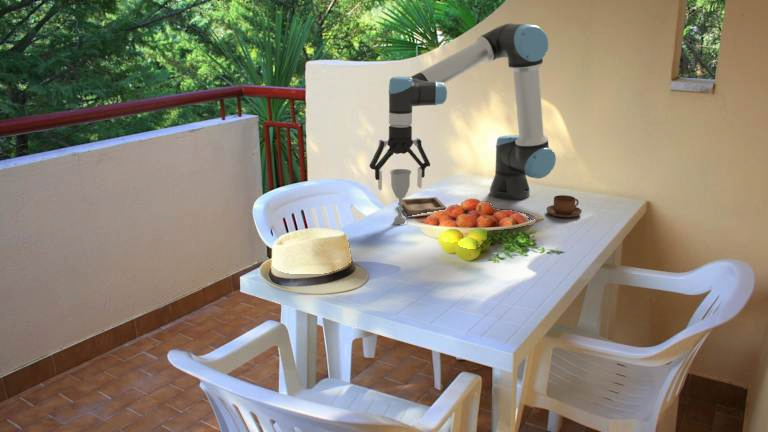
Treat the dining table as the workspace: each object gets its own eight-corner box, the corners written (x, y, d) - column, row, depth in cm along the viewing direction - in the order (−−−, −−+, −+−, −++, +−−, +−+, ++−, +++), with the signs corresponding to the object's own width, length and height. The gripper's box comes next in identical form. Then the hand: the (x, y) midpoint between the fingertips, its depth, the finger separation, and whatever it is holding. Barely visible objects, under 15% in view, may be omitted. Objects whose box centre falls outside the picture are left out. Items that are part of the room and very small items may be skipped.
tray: (435, 203, 257) (436, 197, 256) (446, 214, 244) (447, 207, 243) (399, 206, 254) (399, 199, 253) (408, 217, 241) (408, 210, 240)
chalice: (411, 219, 238) (412, 169, 233) (410, 226, 232) (410, 174, 226) (390, 219, 239) (390, 168, 234) (388, 225, 233) (388, 173, 227)
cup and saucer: (557, 207, 251) (559, 191, 249) (587, 214, 243) (589, 198, 241) (539, 215, 243) (540, 198, 241) (569, 222, 235) (570, 205, 233)
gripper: (434, 121, 231) (432, 183, 238) (360, 124, 226) (361, 187, 233) (440, 125, 224) (438, 188, 231) (364, 128, 219) (365, 193, 226)
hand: (399, 188), depth 232 cm, fingers open, 13 cm apart
